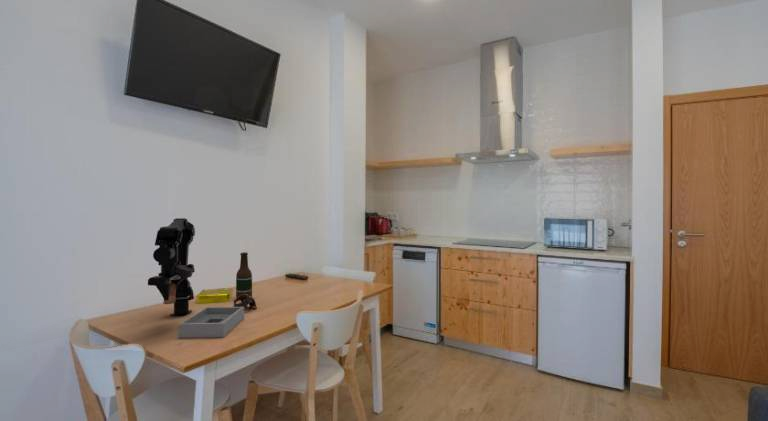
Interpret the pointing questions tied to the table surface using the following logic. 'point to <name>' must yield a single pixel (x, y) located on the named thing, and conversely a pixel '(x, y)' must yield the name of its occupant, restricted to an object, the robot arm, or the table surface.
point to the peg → (171, 295)
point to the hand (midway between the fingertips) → (169, 298)
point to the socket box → (211, 322)
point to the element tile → (214, 295)
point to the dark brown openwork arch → (245, 301)
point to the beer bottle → (244, 277)
